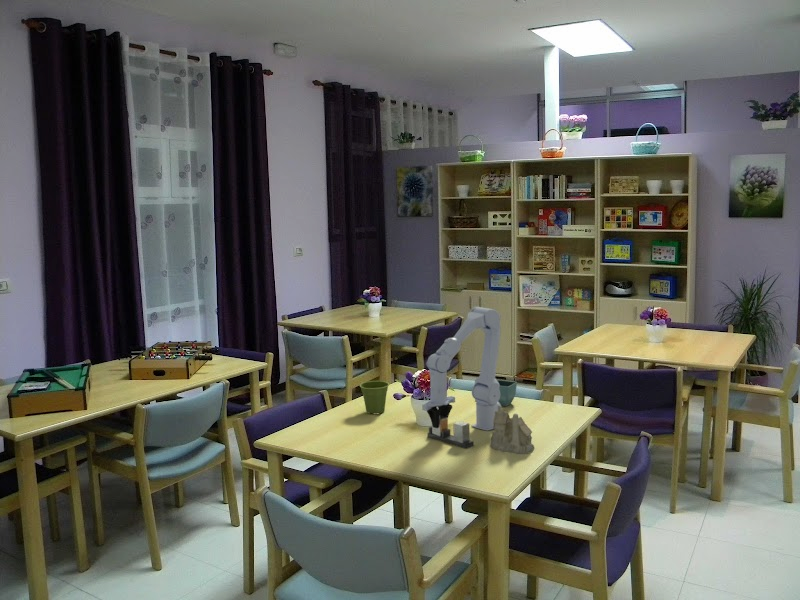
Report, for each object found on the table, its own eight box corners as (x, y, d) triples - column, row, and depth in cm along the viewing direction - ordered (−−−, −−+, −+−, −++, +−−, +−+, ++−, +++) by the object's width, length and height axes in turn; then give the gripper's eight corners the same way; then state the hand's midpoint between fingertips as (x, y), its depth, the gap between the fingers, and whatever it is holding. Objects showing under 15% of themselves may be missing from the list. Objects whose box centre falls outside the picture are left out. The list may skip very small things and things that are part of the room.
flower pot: (517, 403, 293) (517, 381, 291) (508, 408, 285) (508, 386, 284) (497, 400, 297) (497, 379, 296) (488, 405, 290) (488, 384, 289)
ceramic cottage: (523, 456, 231) (523, 410, 230) (480, 448, 241) (480, 404, 241) (547, 446, 243) (546, 402, 242) (505, 438, 253) (505, 396, 252)
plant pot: (356, 410, 288) (355, 383, 287) (382, 406, 293) (382, 379, 292) (367, 417, 278) (366, 389, 276) (394, 413, 283) (394, 385, 281)
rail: (427, 436, 253) (427, 416, 252) (435, 434, 256) (435, 413, 255) (465, 448, 240) (465, 426, 239) (473, 445, 242) (473, 424, 241)
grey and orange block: (439, 431, 254) (439, 414, 253) (448, 434, 250) (448, 417, 250) (432, 433, 251) (432, 417, 250) (441, 436, 248) (441, 419, 247)
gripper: (432, 394, 241) (433, 433, 243) (461, 386, 251) (461, 423, 253) (417, 390, 246) (418, 429, 248) (446, 383, 256) (447, 419, 258)
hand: (439, 426), depth 251 cm, fingers closed on grey and orange block, 3 cm apart
